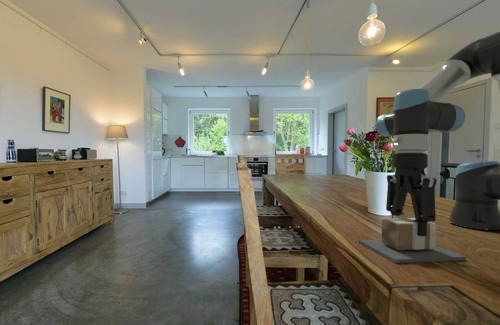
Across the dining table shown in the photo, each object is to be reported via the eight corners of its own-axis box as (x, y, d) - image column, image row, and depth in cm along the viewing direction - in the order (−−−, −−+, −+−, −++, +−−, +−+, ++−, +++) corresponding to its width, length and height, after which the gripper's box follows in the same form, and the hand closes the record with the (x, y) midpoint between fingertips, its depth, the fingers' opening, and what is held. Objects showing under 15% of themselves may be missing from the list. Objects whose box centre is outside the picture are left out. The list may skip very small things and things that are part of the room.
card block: (381, 242, 67) (381, 218, 67) (415, 241, 68) (416, 217, 68) (398, 250, 61) (398, 223, 61) (435, 248, 62) (435, 223, 62)
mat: (417, 241, 73) (417, 238, 73) (465, 260, 59) (465, 256, 59) (358, 243, 70) (358, 240, 70) (394, 263, 56) (395, 259, 56)
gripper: (372, 153, 73) (370, 233, 73) (428, 150, 54) (425, 259, 54) (396, 153, 74) (394, 233, 74) (458, 151, 56) (456, 257, 56)
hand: (407, 244), depth 64 cm, fingers closed on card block, 6 cm apart
